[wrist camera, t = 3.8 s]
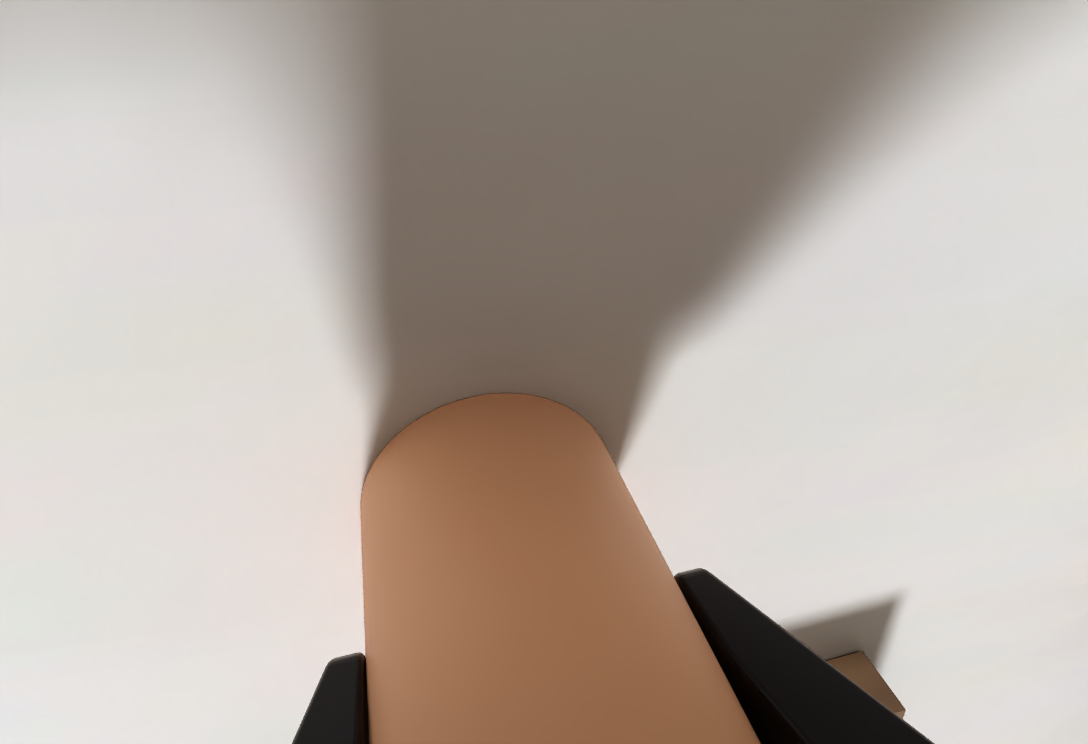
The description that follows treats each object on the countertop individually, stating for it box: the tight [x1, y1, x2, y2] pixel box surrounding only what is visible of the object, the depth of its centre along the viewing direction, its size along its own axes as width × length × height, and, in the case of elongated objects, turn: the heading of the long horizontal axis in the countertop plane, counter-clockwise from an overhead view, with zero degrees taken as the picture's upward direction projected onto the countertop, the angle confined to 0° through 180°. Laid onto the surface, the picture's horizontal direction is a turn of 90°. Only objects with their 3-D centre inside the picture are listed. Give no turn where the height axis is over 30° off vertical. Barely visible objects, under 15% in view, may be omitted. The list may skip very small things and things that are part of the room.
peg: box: [360, 393, 761, 744], centre depth 8 cm, size 4×4×8 cm
